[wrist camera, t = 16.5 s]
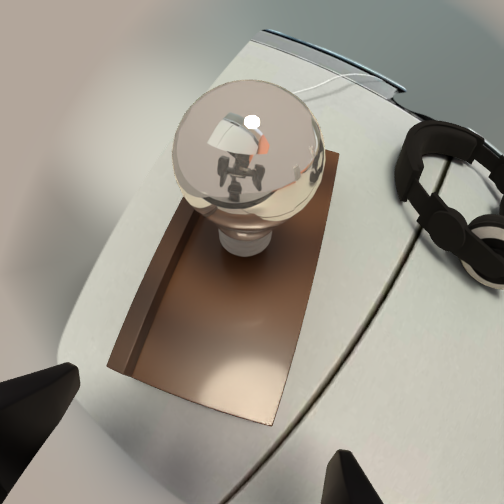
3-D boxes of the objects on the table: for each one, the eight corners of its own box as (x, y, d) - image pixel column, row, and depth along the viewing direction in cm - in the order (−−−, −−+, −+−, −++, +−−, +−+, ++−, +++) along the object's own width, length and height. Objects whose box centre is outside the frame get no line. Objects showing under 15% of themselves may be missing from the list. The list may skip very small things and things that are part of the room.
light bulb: (316, 259, 21) (378, 118, 11) (227, 312, 19) (213, 186, 9) (259, 188, 24) (273, 43, 13) (176, 229, 22) (136, 82, 11)
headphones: (536, 290, 16) (372, 123, 25) (483, 330, 22) (355, 183, 32) (572, 209, 21) (458, 100, 30) (538, 248, 27) (440, 145, 37)
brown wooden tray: (266, 422, 20) (275, 428, 15) (134, 376, 21) (105, 366, 16) (329, 181, 30) (343, 141, 25) (230, 155, 31) (230, 113, 26)
